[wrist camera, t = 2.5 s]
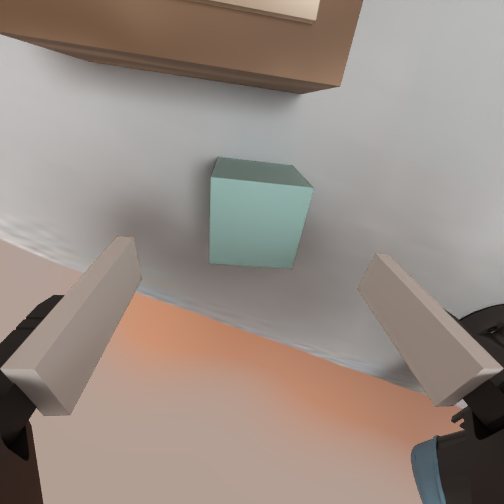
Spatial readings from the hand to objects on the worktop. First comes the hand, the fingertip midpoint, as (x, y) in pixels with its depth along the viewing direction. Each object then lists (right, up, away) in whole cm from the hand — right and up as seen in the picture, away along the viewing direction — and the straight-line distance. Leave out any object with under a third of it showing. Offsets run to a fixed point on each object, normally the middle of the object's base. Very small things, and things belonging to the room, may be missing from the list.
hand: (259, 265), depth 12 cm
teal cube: (0, +6, +10) cm, 12 cm away
